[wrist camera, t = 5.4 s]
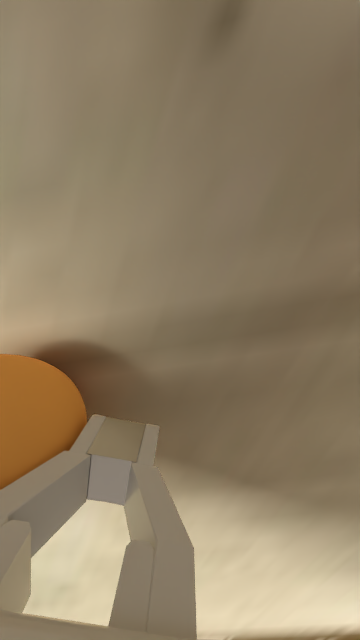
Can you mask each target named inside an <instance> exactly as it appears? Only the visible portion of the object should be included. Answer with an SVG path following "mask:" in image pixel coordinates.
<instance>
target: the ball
mask: <svg viewBox="0 0 360 640" xmlns="http://www.w3.org/2000/svg"><path fill="white" fill-rule="evenodd" d="M86 424H87V415H86V409H85V405H84V402H83V399H82V397H81V394H80V392H79V390H78V389H77V387H76V386H75V384H74V383H73V382H72V381H71V379H70V378H69V377H68V376H67V375H65V374H64V373H63V372H62V371H60V370H59V369H57V368H56V367H54V366H52V365H50V364H48V363H46V362H44V361H41V360H38V359H35V358H31V357H26V356H21V355H9V354H0V490H1V489H3V488H5V487H6V486H8V485H9V484H11V483H13V482H14V481H16V480H17V479H19V478H21V477H22V476H24V475H26V474H27V473H29V472H30V471H32V470H34V469H35V468H37V467H39V466H40V465H42V464H43V463H45V462H47V461H48V460H50V459H52V458H53V457H55V456H56V455H58V454H60V453H61V452H63V451H69V450H70V449H71V447H72V446H73V444H74V443H75V441H76V439H77V438H78V436H79V435H80V433H81V432H82V430H83V428H84V427H85V425H86Z"/></svg>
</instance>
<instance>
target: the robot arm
mask: <svg viewBox="0 0 360 640" xmlns="http://www.w3.org/2000/svg"><path fill="white" fill-rule="evenodd" d="M159 429H160V427H159V425H153V424H146V423H140V422H134V421H128V420H123V419H118V418H114V417H109V416H102V415H98V414H94V415H92V416H91V418H90V419H89V421H88V422H87V424H86V425H85V427H84V428H83V430H82V432H81V433H80V435H79V436H78V438H77V439H76V441H75V443H74V444H73V446H72V447H71V449H70V450H69V451H63V452H61V453H60V454H58V455H56V456H55V457H53V458H52V459H50V460H48V461H47V462H45V463H43V464H42V465H40V466H39V467H37V468H35V469H34V470H32V471H30V472H29V473H27V474H26V475H24V476H22V477H21V478H19V479H17V480H16V481H14V482H13V483H11V484H9V485H8V486H6V487H5V488H3V489H1V490H0V640H197V634H196V601H195V568H194V547H193V545H192V543H191V541H190V538H189V536H188V534H187V532H186V529H185V527H184V525H183V523H182V520H181V518H180V516H179V514H178V511H177V509H176V507H175V505H174V502H173V500H172V498H171V496H170V493H169V491H168V489H167V487H166V484H165V482H164V480H163V478H162V475H161V473H160V471H159V469H158V467H156V466H154V460H155V453H156V447H157V441H158V435H159ZM86 499H89V500H96V501H104V502H109V503H114V504H119V505H124V509H125V514H126V519H127V525H128V530H129V535H130V540H131V542H130V543H129V544H128V545H127V546H126V550H125V555H124V559H123V563H122V568H121V572H120V577H119V581H118V586H117V590H116V595H115V599H114V604H113V608H112V612H111V617H110V621H109V626H102V625H95V624H89V623H83V622H76V621H70V620H64V619H57V618H51V617H44V616H38V615H32V614H25V613H22V612H23V610H24V608H25V606H26V603H27V601H28V599H29V597H30V595H31V558H32V557H33V555H34V554H35V553H36V552H37V551H38V550H39V549H40V548H41V547H42V546H43V545H44V544H45V543H46V542H47V541H48V540H49V539H50V538H51V537H52V536H53V535H54V534H55V533H56V532H57V531H58V530H59V529H60V528H61V527H62V526H63V525H64V524H65V523H66V522H67V520H68V519H69V518H70V517H71V516H72V515H73V514H74V513H75V512H76V511H77V510H78V509H79V508H80V507H81V506H82V505H83V504H84V503H85V502H86Z"/></svg>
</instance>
